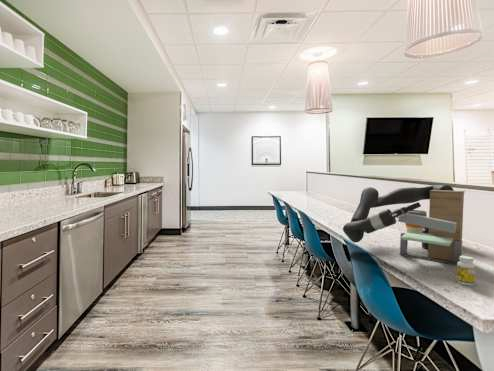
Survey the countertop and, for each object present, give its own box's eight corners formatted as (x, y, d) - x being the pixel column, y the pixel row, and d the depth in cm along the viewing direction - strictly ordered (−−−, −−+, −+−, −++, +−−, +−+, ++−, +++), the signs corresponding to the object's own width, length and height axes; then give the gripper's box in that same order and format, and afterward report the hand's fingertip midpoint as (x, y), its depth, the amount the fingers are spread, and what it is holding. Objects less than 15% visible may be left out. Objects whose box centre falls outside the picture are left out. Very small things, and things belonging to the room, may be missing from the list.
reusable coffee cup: (426, 233, 188) (426, 210, 188) (426, 236, 178) (426, 213, 177) (404, 230, 195) (405, 209, 194) (403, 234, 184) (404, 211, 184)
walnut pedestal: (430, 253, 141) (432, 189, 139) (461, 259, 132) (464, 191, 131) (427, 257, 134) (429, 190, 133) (459, 263, 126) (462, 192, 124)
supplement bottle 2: (478, 285, 102) (479, 259, 101) (463, 285, 102) (464, 259, 101) (467, 280, 107) (468, 255, 106) (452, 280, 107) (453, 255, 106)
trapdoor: (408, 233, 138) (408, 231, 138) (454, 239, 126) (454, 237, 126) (400, 239, 128) (400, 236, 128) (449, 246, 115) (449, 243, 115)
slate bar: (400, 220, 132) (401, 212, 132) (455, 231, 118) (456, 222, 118) (398, 221, 129) (399, 212, 129) (453, 233, 115) (455, 223, 115)
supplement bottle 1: (436, 247, 152) (436, 225, 152) (437, 250, 147) (437, 227, 146) (421, 245, 156) (421, 224, 155) (421, 248, 150) (422, 226, 149)
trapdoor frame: (401, 253, 141) (402, 232, 141) (461, 264, 125) (462, 240, 124) (399, 254, 139) (400, 233, 138) (460, 265, 123) (461, 242, 122)
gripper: (391, 224, 140) (426, 210, 130) (381, 229, 129) (419, 214, 119) (383, 211, 142) (417, 196, 132) (373, 214, 132) (409, 198, 121)
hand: (418, 204), depth 125 cm, fingers open, 4 cm apart
